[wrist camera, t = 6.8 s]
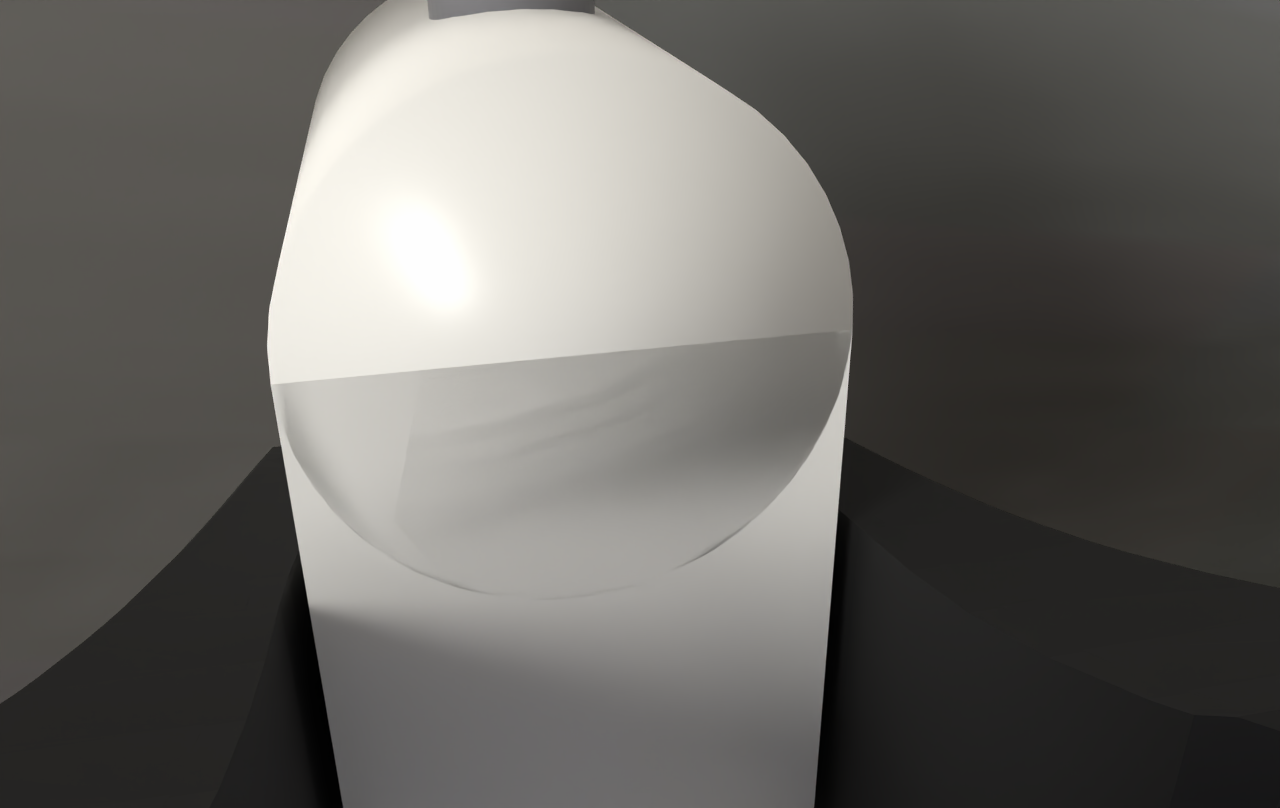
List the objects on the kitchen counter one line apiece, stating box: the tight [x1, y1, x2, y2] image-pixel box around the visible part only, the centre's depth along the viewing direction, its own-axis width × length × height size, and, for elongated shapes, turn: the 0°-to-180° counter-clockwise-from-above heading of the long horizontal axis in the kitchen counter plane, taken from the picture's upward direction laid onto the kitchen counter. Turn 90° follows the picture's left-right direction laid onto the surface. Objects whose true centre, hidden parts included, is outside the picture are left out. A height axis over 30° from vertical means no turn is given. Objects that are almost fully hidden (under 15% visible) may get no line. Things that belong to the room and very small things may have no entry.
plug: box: [267, 0, 853, 808], centre depth 10 cm, size 13×4×5 cm, turn 1°
